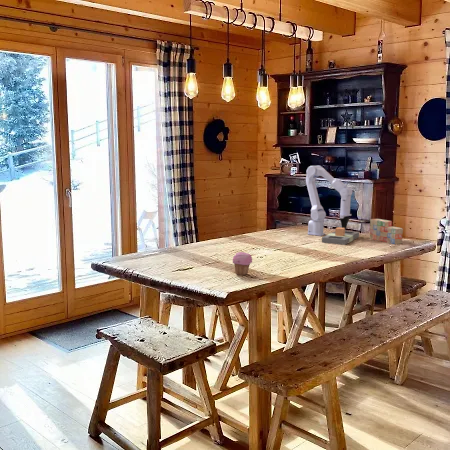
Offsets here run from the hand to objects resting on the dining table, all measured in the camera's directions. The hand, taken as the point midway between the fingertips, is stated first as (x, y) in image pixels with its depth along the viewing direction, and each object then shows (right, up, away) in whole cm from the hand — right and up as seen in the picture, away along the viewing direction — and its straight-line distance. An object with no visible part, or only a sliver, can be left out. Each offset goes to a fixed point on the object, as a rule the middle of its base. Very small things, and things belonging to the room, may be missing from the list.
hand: (344, 228), depth 333 cm
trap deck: (-3, -7, -4) cm, 8 cm away
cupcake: (-66, -20, -93) cm, 116 cm away
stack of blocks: (+24, -8, -5) cm, 26 cm away
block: (-4, -4, -7) cm, 9 cm away
